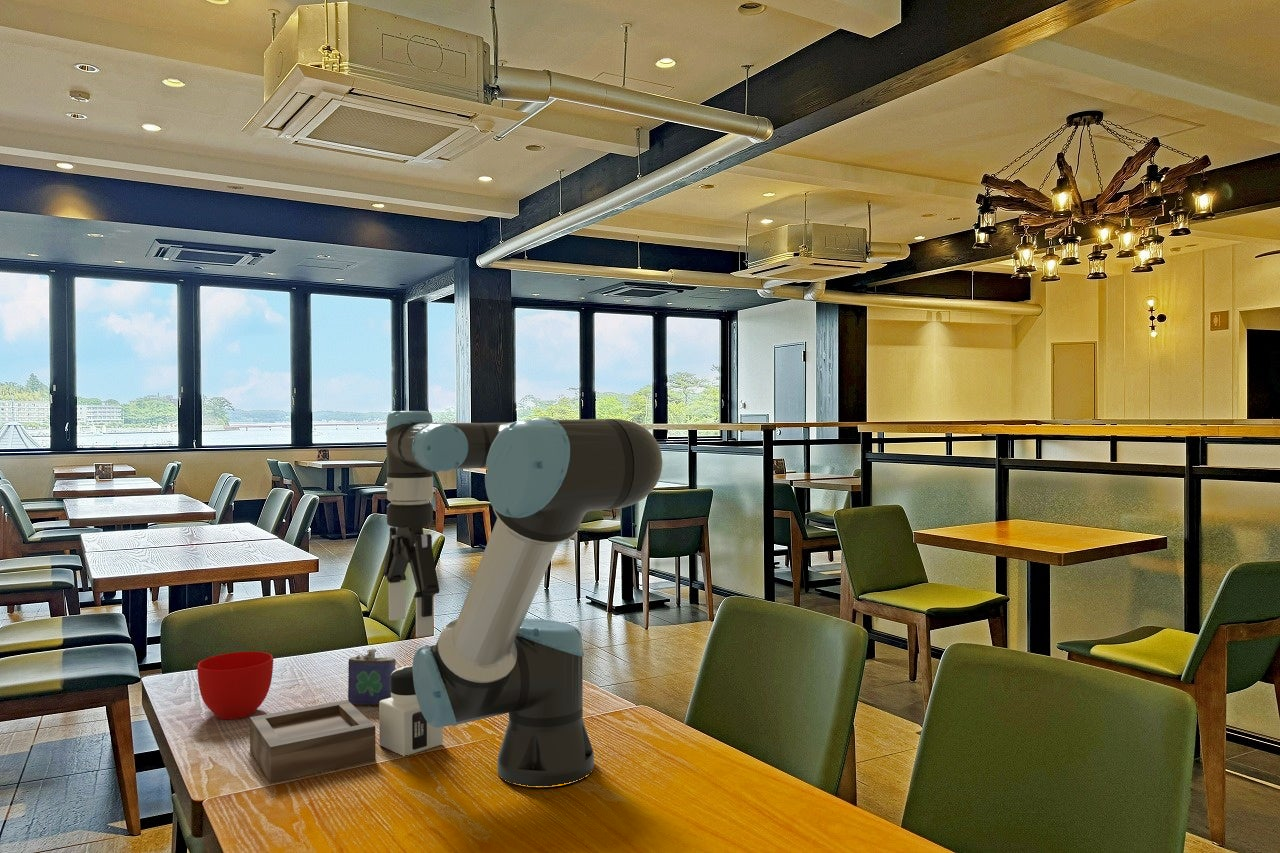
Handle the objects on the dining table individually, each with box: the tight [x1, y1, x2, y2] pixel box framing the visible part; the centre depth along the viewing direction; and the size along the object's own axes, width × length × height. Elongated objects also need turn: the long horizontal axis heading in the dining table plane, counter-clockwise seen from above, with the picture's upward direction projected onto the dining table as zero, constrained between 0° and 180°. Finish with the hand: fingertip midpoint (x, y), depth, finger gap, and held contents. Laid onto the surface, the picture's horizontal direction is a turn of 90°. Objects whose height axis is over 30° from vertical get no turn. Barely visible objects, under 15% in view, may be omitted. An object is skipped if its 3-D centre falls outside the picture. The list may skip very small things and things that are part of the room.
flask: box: [347, 648, 397, 708], centre depth 170 cm, size 9×3×11 cm, turn 88°
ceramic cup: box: [196, 650, 274, 720], centre depth 166 cm, size 13×17×10 cm
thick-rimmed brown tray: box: [249, 699, 377, 784], centre depth 145 cm, size 16×16×6 cm
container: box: [378, 665, 444, 757], centre depth 149 cm, size 8×8×13 cm
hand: (410, 627), depth 149 cm, fingers open, 13 cm apart
